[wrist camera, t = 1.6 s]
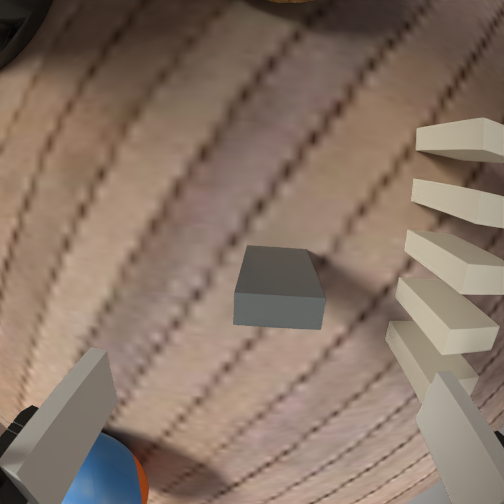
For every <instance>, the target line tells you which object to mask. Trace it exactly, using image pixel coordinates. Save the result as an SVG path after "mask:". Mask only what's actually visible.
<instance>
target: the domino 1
mask: <svg viewBox="0 0 504 504" xmlns="http://www.w3.org/2000/svg"><path fill="white" fill-rule="evenodd" d="M325 301H326V297H325V294H324V292H323V289H322V287H321V284H320V282H319V279H318V276H317V274H316V271H315V269H314V266H313V264H312V261H311V259H310V256H309V254H308V252H307V249H293V248H279V247H264V246H249V245H247V248H246V252H245V255H244V259H243V263H242V266H241V270H240V274H239V277H238V281H237V285H236V289H235V292H234V319H233V325H246V326H260V327H275V328H293V329H315V330H321V326H322V320H323V314H324V307H325Z"/></svg>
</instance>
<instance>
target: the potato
mask: <svg viewBox="0 0 504 504" xmlns="http://www.w3.org/2000/svg"><path fill="white" fill-rule="evenodd" d="M268 1H272V2H277V3H302V2H308V1H315V0H268Z"/></svg>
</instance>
